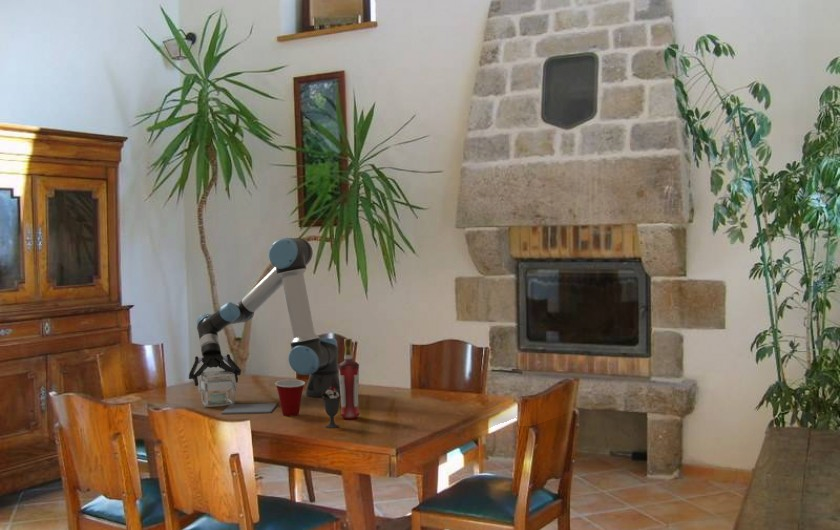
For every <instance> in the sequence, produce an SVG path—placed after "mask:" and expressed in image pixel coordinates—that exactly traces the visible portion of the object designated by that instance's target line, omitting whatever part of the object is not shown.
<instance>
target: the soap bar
mask: <svg viewBox="0 0 840 530" xmlns="http://www.w3.org/2000/svg"><path fill="white" fill-rule="evenodd" d="M208 399H209V400H210V402H209V405H215V404H226V403H227V401H226V399H227V392H224V391H213V392H209V393H208Z"/></svg>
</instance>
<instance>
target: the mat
mask: <svg viewBox="0 0 840 530" xmlns="http://www.w3.org/2000/svg"><path fill="white" fill-rule="evenodd" d="M277 406H278V403H246V404H245V403H238V404H236V403H235V404H234V405H227V407H226V408H225V409H224V410H223V411H221V415H240V414H241V415H242V414H244V415H245V414H247V415H248V414H250V415H251V414H271V413H272V412H273V411H274V410H275V408H276V407H277Z"/></svg>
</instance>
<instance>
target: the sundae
mask: <svg viewBox="0 0 840 530" xmlns="http://www.w3.org/2000/svg"><path fill="white" fill-rule="evenodd" d="M335 383H336V382H334V384H333V385H334V386H335ZM333 385H332V386H333ZM336 390H337V389H336V388H332V387H330V388H329V389H328V390H327V391H326V393H325V392H324V393H323V394H322V395H323V397H321V399H323V403H324V409H325V413H326V415H327V416H329V418H330V422H329V424H328V425H327V424H326V425H325V426H324V427H325V428H326V429H338V428H340V425H338V424H336V423H335V416H336V415H337V414H338V413H339V405H340V400H341V396H340V395H339V393H338V392H337V391H336ZM337 427H338V428H337Z"/></svg>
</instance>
